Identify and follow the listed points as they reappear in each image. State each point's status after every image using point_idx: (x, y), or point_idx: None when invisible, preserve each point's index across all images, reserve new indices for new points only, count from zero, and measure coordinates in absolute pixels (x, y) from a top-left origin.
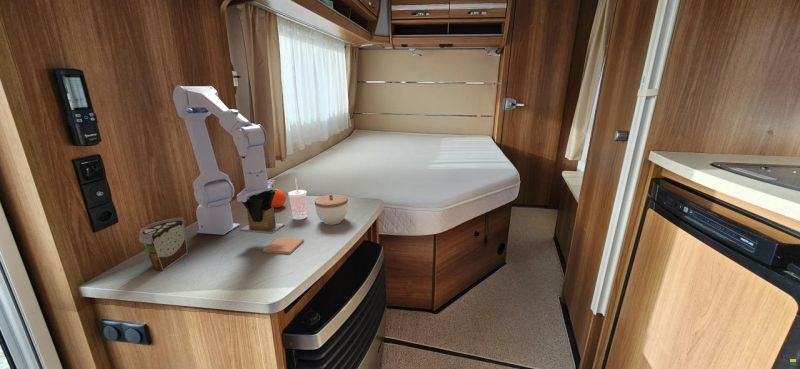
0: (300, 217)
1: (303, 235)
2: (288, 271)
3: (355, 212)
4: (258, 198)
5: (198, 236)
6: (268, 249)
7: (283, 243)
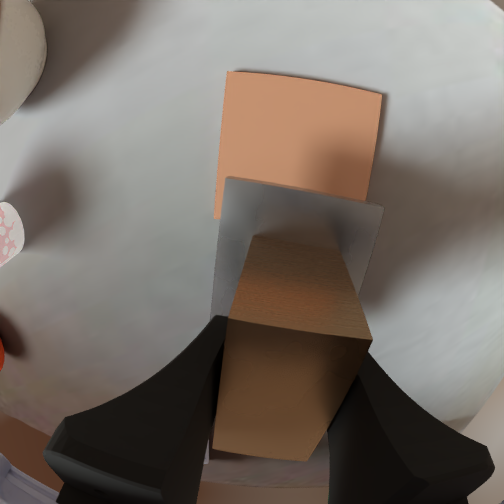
0: (14, 217)
1: (158, 108)
2: (496, 74)
3: None
4: (426, 500)
5: (225, 454)
6: None
7: (288, 159)
